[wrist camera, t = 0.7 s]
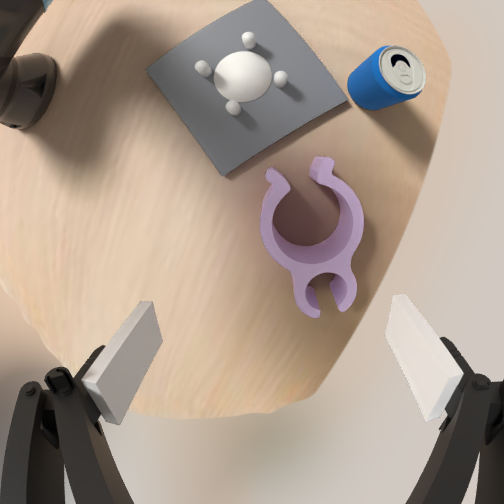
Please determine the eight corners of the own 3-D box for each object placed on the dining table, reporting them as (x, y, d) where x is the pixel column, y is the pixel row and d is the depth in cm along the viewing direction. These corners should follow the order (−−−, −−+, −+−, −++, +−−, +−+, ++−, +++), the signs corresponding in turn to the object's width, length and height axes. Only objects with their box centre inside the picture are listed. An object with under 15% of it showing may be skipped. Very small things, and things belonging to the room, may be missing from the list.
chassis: (148, 71, 32) (136, 64, 28) (262, -1, 28) (261, -14, 24) (223, 176, 37) (218, 178, 34) (345, 101, 33) (354, 95, 29)
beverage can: (381, 68, 30) (419, 43, 19) (392, 109, 32) (435, 98, 21) (340, 70, 31) (367, 41, 20) (352, 113, 33) (385, 99, 22)
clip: (360, 281, 42) (373, 303, 35) (283, 299, 44) (285, 325, 37) (337, 152, 35) (351, 152, 29) (249, 172, 37) (244, 176, 31)
